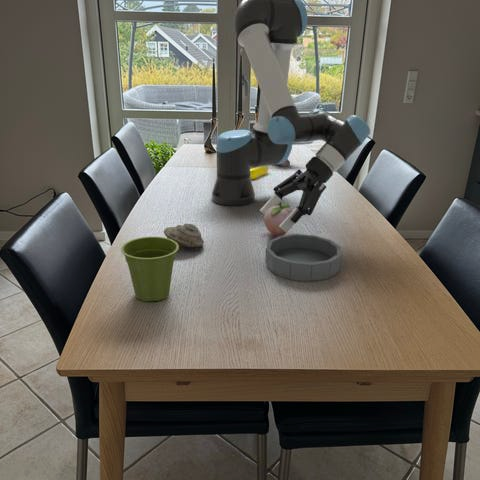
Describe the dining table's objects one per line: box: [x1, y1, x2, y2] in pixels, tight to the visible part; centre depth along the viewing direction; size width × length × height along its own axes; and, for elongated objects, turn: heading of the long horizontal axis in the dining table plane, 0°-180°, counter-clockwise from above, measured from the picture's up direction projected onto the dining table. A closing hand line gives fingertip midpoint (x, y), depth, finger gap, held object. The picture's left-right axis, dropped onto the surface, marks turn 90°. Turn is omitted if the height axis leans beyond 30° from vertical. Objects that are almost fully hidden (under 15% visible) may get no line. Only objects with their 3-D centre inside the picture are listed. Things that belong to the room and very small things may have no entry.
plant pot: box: [120, 236, 180, 302], centre depth 99 cm, size 12×12×11 cm
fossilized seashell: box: [163, 223, 205, 248], centre depth 125 cm, size 11×11×7 cm
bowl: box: [264, 233, 342, 283], centre depth 115 cm, size 18×18×4 cm
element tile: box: [250, 166, 269, 181], centre depth 197 cm, size 15×15×5 cm
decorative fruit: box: [263, 202, 293, 237], centre depth 131 cm, size 9×8×10 cm
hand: (272, 221), depth 131 cm, fingers open, 13 cm apart
